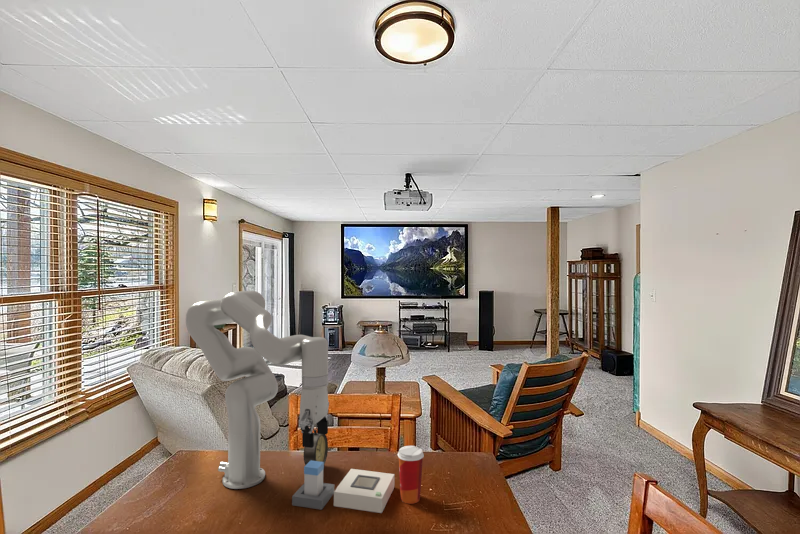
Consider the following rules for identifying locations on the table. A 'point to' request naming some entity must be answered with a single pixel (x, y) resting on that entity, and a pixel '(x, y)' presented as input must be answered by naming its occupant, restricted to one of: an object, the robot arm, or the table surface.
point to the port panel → (364, 490)
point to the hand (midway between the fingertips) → (315, 440)
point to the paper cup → (410, 473)
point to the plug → (313, 478)
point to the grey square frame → (313, 497)
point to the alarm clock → (317, 448)
